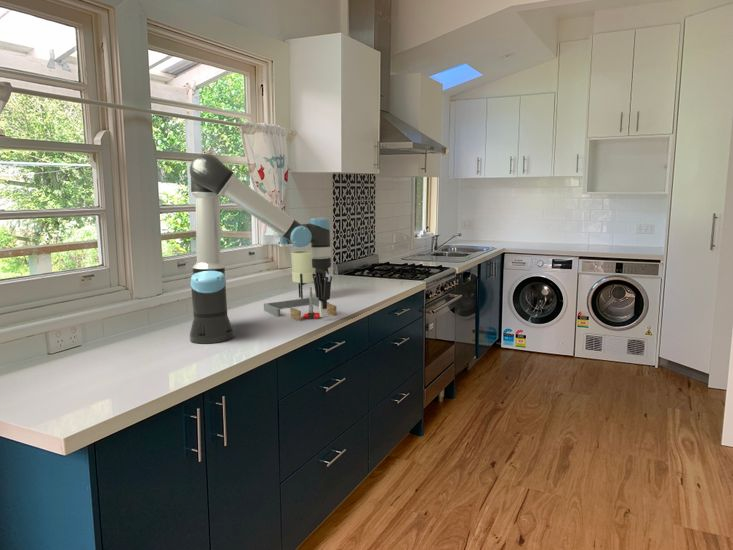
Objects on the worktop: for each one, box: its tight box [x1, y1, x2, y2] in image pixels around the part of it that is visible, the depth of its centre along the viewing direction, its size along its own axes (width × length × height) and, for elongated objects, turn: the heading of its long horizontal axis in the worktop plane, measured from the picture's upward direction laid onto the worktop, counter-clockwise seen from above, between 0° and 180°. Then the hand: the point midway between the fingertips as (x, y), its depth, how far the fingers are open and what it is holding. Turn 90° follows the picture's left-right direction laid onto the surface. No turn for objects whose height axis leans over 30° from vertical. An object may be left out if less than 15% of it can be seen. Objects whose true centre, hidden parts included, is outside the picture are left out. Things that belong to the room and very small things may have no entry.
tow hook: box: [302, 286, 321, 320], centre depth 232 cm, size 8×13×9 cm
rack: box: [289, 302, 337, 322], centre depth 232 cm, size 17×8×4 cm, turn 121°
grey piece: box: [263, 296, 330, 317], centre depth 246 cm, size 24×16×3 cm, turn 121°
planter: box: [290, 249, 316, 299], centre depth 269 cm, size 15×16×23 cm
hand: (323, 316), depth 224 cm, fingers closed
